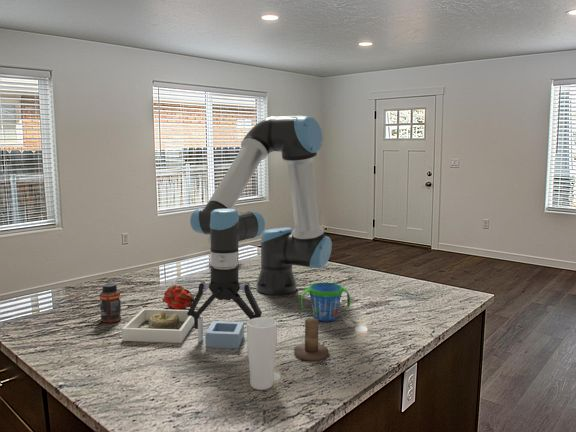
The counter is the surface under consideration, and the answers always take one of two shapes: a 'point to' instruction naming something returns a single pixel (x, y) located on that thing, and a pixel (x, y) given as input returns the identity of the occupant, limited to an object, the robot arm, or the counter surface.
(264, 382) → the drinking glass
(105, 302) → the supplement bottle
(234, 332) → the collar
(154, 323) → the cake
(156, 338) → the cream rectangular open frame
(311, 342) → the post
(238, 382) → the counter surface
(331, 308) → the snack cup
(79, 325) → the counter surface
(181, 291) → the dragon fruit
